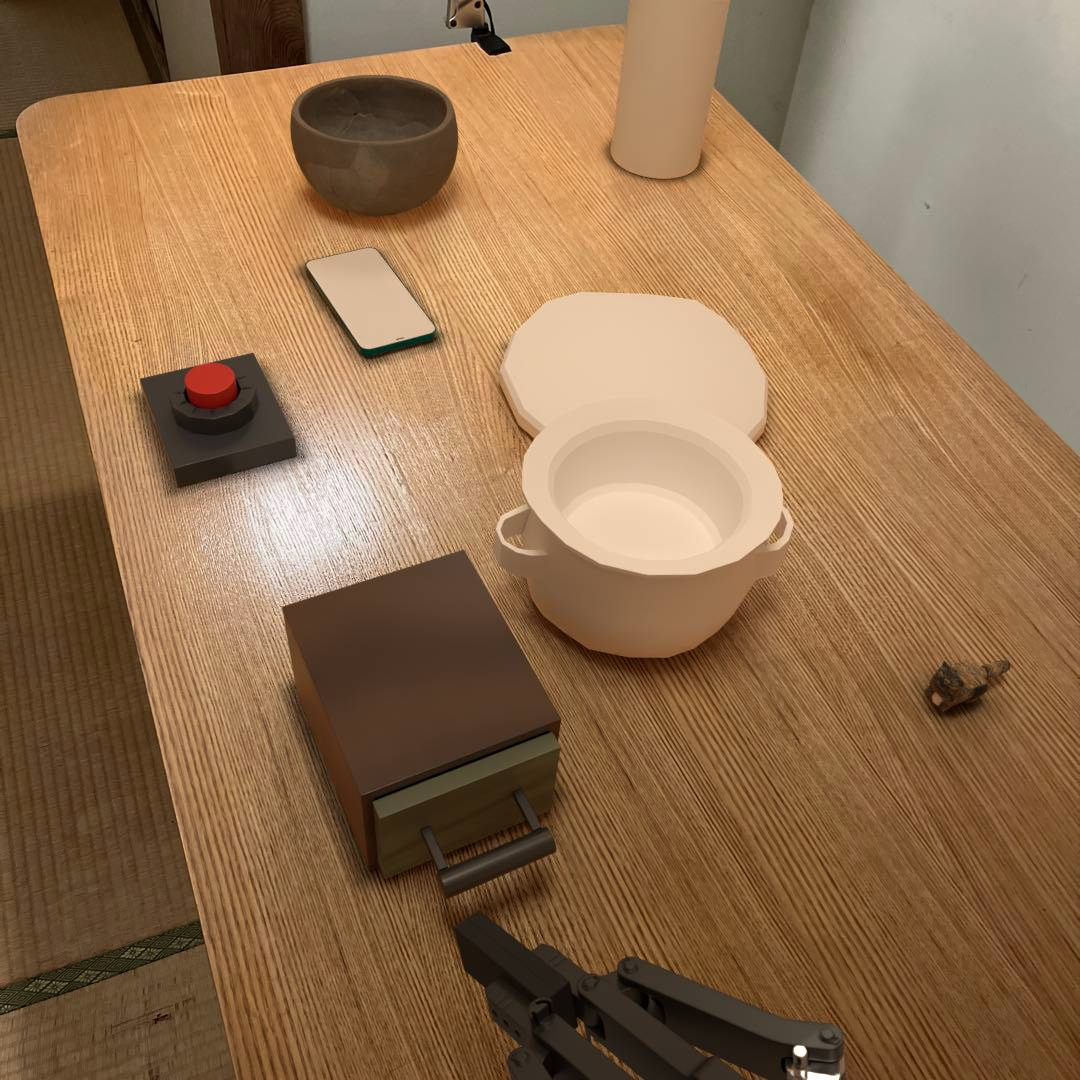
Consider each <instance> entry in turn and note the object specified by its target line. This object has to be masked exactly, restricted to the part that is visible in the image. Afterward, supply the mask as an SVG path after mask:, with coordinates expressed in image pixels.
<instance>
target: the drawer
mask: <svg viewBox="0 0 1080 1080" xmlns="http://www.w3.org/2000/svg"><path fill="white" fill-rule="evenodd" d="M529 739H530V738H528V739H525V740H523V741H520V742H517V743H515V744H512V745H510V746H507V747H504V748H502V749H499V750H497V751H494V752H492V753H489V754H486V755H484V756H481V757H479V758H476V759H473V760H471V761H468V762H466V763H463V764H461V765H458V766H455V767H453V768H450V769H448V770H445V771H443V772H440V773H437V774H435V775H432V776H430V777H427V778H424V779H422V780H419V781H417V782H414V783H412V784H409V785H406V786H404V787H401V788H399V789H396V790H394V791H391V792H388V793H386V794H383V795H381V796H378V797H375V798H374V799H375V801H373V802H372V804H373V815H374V825H375V836H376V847H377V857H378V864H379V869H380V872H381V874H382V876H383V878H384V880H387V879H389V878H391V877H394V876H396V875H399V874H401V873H404V872H405V871H406V872H407V871H408V870H410V869H413V868H415V867H417V866H420V865H422V864H425V863H427V862H429V861H432V863H433V865H434V867H435V869H436V872H435V878H436V883H437V885H438V888H439V890H440V893H441V895H442V897H443V899H445V900H449V899H452V898H453V897H457V896H459V895H461V894H463V893H465V892H468V891H470V890H473V889H475V888H477V887H479V886H482V885H484V884H486V883H488V882H491V881H493V880H496V879H497V878H500V877H503V876H505V875H507V874H509V873H511V872H514V871H516V870H518V869H521V868H523V867H526V866H528V865H530V864H533V863H535V862H538V861H539V860H542V859H544V858H546V857H548V856H551V855H554V854H556V853H557V843H556V840H555V837H554V835H553V832H551V830H550V828H549V827H548V826H543V825H541V822H540V821H539V819H538V816H540V815H543V814H545V813H547V812H550V811H552V805H553V798H554V794H555V793H554V792H555V786H556V781H557V773H558V767H559V762H560V756H561V755H560V754H561V749H562V746H561V745H560V743H559V740H558V741H557V739H556V738H555V736H554V734H553V732H550V733H547V734H545V735H542V736H540V737H537V738H535V739H532V740H529ZM523 822H525V823H526V825H527V827H528V829H529V833H526V834H524V835H522V836H519V837H517V838H515V839H512V840H509V841H508V842H505V843H503V844H501V845H497V846H495V847H493V848H491V849H488V850H486V851H484V852H482V853H478V854H477V855H474V856H472V857H470V858H467V859H465V860H462V861H460V862H458V863H455V864H452V865H450V866H449V864H448V862H447V860H446V858H445V856H444V855H446V854H449V853H451V852H454V851H456V850H459V849H461V848H463V847H465V846H468V845H470V844H473V843H475V842H478V841H481V840H483V839H485V838H487V837H489V836H492V835H494V834H497V833H500V832H501V831H504V830H507V829H509V828H512V827H513V826H516V825H519V824H521V823H523ZM542 826H543V827H542Z"/></svg>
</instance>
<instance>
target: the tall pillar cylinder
mask: <svg viewBox="0 0 1080 1080" xmlns="http://www.w3.org/2000/svg"><path fill="white" fill-rule="evenodd" d="M628 3H629V4H628V11H627V19H626V28H625V35H624V42H623V50H622V57H621V65H620V74H619V80H618V81H619V82H618V89H617V99H616V105H615V111H614V112H615V113H614V120H613V129H612V137H611V145H610V155H611V158H612V160H613V161H614V162H615V163H616V164H617V165H618V166H619V167H620V168H622V169H623V170H625V171H626V172H629V173H631V174H633V175H637V176H640V177H643V178H644V177H645V178H649V179H659V180H669V179H670V180H671V179H677V178H682V177H684V176H687V175H689V174H691V173H692V172H694V171H695V170H696V169H697V167H698V166H699V163H700V159H701V153H702V148H703V142H704V138H705V133H706V128H707V122H708V117H709V114H710V113H709V112H710V108H711V102H712V98H713V93H714V92H713V91H714V86H715V82H716V76H717V70H718V66H719V60H720V55H721V51H722V45H723V40H724V35H725V30H726V25H727V21H728V20H727V19H728V15H729V9H730V4H731V0H629V2H628Z"/></svg>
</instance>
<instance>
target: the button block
mask: <svg viewBox="0 0 1080 1080" xmlns="http://www.w3.org/2000/svg"><path fill="white" fill-rule="evenodd" d="M209 363H219V364H223V365H226V366H228V367H229V368H230V369H231V370H232V371H233V372H234V375H235V380H236V386H237V397H236V399H235V400H234V401H233V402H232V403H230V404H229V405H227V406H225V407H221V408H217V409H203V408H198V407H196V406H194V405H193V404H192V403H191V402H190V401H189V398H188V394H187V390H186V385H185V377H186V375H187V373H188V372H189V371H190V370H191V369H193V368H194V367H196V366H199V365H202V364H203V363H201V364H197V365H193V366H188V367H184V368H179V369H175V370H171V371H166V372H163V373H158V374H153V375H149V376H144V377H140V378H139V384H140V386H141V390H142V394H143V397H144V398H143V399H144V401H145V403H146V406H147V408H148V411H149V415H150V416H151V420H152V422H153V424H154V427H155V430H156V432H157V435H158V439H159V440H160V443H161V446H162V449H163V451H164V454H165V457H166V459H167V463H168V465H169V468H170V470H171V473H172V476H173V479H174V481H175V485H176V486H177V488H182V487H185V486H186V487H187V486H189V485H193V484H196V483H200V482H205V481H207V480H212V479H215V478H220V477H223V476H226V475H230V474H234V473H238V472H243V471H245V470H250V469H253V468H257V467H260V466H264V465H268V464H272V463H275V462H279V461H283V460H287V459H291V458H294V457H297V456H298V450H297V443H296V437H295V435H294V433H293V431H292V428H291V427H290V424H289V422H288V420H287V419H286V416H285V414H284V412H283V409H282V408H281V406H280V404H279V402H278V399H277V398H276V396H275V394H274V392H273V390H272V388H271V385H270V383H269V380H268V379H267V377H266V374H265V373H264V371H263V369H262V367H261V365H260V363H259V361H258V359H257V356H256V355H255V353H254V352H249V353H245V354H241V355H236V356H233V357H228V358H223V359H218V360H214V361H211V362H209Z"/></svg>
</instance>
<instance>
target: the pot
mask: <svg viewBox="0 0 1080 1080" xmlns="http://www.w3.org/2000/svg"><path fill="white" fill-rule="evenodd" d="M521 470H522V471H521V494H522V496H523V499H524V501H525V502H526V503H524V504H522V505H520V506H517V507H516V508H514V509H512V510H509V511H508V512H506V513H504V514H502V515H501V516H500V518H499V519H498V522H497V525H496V527H495V531H494V532H495V533H494V541H493V548H492V551H493V554H494V557H495V559H496V561H497V564H498V566H499V567H500V568H502V569H504V570H505V571H506V572H509V573H511V574H512V575H514V576H518V577H522V578H525V579H526V584H527V587H528V592H529V595H530V598H531V600H532V602H533V603H534V604H535V606H536V608H537V609H538V611H539V612H540V614H541V616H543V617H544V618H545V619H547V620H548V621H549V622H550V623H551V624H552V625H554V626H556V627H557V628H558V629H559V630H561V632H563V633H564V634H566V635H567V636H568V637H570V638H572V639H573V640H575V641H576V642H577V643H579V644H580V645H582V646H583V647H585V648H586V649H588V650H591V651H595V652H601V653H606V654H610V655H615V656H619V657H626V658H641V659H642V658H645V659H646V658H648V659H650V658H654V659H657V658H659V659H660V658H661V659H666V658H667V659H668V658H670V657H671V658H672V657H673V656H676V655H679V654H682V653H686V652H689V651H691V650H693V649H695V648H697V647H698V646H699V645H700V644H703V642H705V641H706V640H708V639H709V638H711V637H712V636H713V635H715V634H716V633H718V632H719V631H720V629H722V628H723V626H724V625H725V624H726V623H727V622H728V621H730V619H731V618H732V617H733V616H734V614H735V613H736V611H737V610H738V608H739V607H740V606H741V604H742V602H743V601H744V599H746V596H747V595H748V593H749V592H750V590H751V588H752V587H753V586H754V584H755V583H756V581H757V580H761V579H764V578H768V577H770V576H771V577H772V576H774V575H775V574H776V573H777V572H778V570H779V569H780V568H781V567H782V566H783V565H784V563H785V560H786V558H787V554H788V551H789V549H790V548H789V547H790V545H791V540H792V535H793V531H794V526H795V523H794V520H793V518H792V515H791V514H790V511H789V509H788V508H787V507H785V506H784V504H783V503H784V496H783V486H782V481H781V478H780V477H779V474H778V472H777V470H776V468H775V466H774V464H773V463H772V462H771V459H769V458H768V456H767V455H766V454H765V453H764V451H763V450H762V449H761V448H760V447H759V446H758V445H757V444H756V442H755V443H754V442H753V441H752V440H751V439H750V438H749V437H748V436H747V435H746V434H744V433H743V432H741V431H740V430H738V429H737V428H735V427H734V426H733V425H731V424H730V423H728V422H727V421H725V420H723V419H721V418H719V417H717V416H715V415H713V414H710V413H708V412H706V411H703V410H699V409H696V408H693V407H689V406H686V405H682V404H679V403H676V402H671V401H664V400H657V399H651V398H622V399H608V400H603V401H599V402H595V403H591V404H587V405H583V406H580V407H578V408H576V409H574V410H572V411H570V412H568V413H566V414H564V415H562V416H560V417H558V418H556V419H554V420H553V421H552V422H551V423H550V424H549V425H548V426H547V427H546V428H545V429H544V430H543V431H542V432H541V433H539V434H538V435H537V436H536V437H535V439H534V438H533V440H532V442H531V444H530V446H529V447H528V449H527V450H526V452H525V454H524V455H523V463H522V469H521ZM773 533H774V534H776V535H777V536H778V540H777V541H775V542H772V543H767V542H769V540H770V538H771V537H772V535H773ZM518 535H522V548H520V547H516V546H514V545H512V544H511V543H509V542H508V541H506V540H507V539H509V538H512V537H515V536H518Z"/></svg>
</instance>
